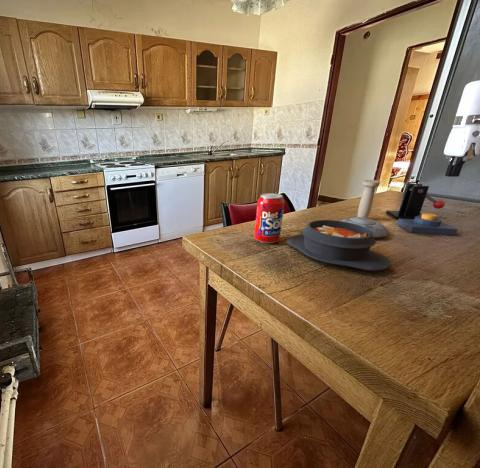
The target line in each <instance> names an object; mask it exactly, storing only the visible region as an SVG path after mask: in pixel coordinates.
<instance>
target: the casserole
mask: <svg viewBox="0 0 480 468" xmlns="http://www.w3.org/2000/svg"><path fill="white" fill-rule="evenodd" d="M301 233H302V234H296V235H292V236H290V237H288V238H287V240H286V244H288V245H289V246H291V247H292V248H294V249H297V250H298V251H299V252H301V253H303V254H304V255H306V256H307V257H309V258H312V259H314V260H317V261H320V262H323V263H325V264H326V263H327V264H331V265H335V266H344V267H350V268H355V269H360V270H363V271H370V272H375V271H383V270H386V269H387V268H389V267H390V266H391V264H392V263H391V260H390V259H389V257H387V256H386V255H383V254H381V253H379V252H376V251H374V250H372V249H371V248H372V247H374V246H375V245H376V243H377V241H376V240H375V239H376V238H373V233H372V231H370V230H369V229H367V228H365V227H362V226H360V225H356V224H352V223H348V222H342V221H341V220H331V219H320V220H312V221H310V222H308V223H307V224H306V226H305V227H304V228H303V229H302V230H301Z"/></svg>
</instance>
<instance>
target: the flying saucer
mask: <svg viewBox="0 0 480 468" xmlns="http://www.w3.org/2000/svg"><path fill="white" fill-rule="evenodd" d="M340 221H342V222H348V223H352V224H356V225H360V226H362V227H365V228H367V229H369V230H370V231H372V233H373V238H374V239H377V238H384V237H386V236H389V235H390V231H389V230H388V228H387V227H386V226H385V225H384V224H382V223H381V222H379V221H377V220H375V219H372V218H369V217H368V218H366V217H357V216H355V217H347V218H343V219H341V220H340Z"/></svg>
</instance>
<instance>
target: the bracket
mask: <svg viewBox="0 0 480 468" xmlns="http://www.w3.org/2000/svg"><path fill="white" fill-rule="evenodd" d="M414 185H418V186H414ZM412 186H413V188H412V191H410V190H409V189H410V188H411V187H412ZM429 188H430V186H429V185H423V184H422V183H406V186H405V190H404V193H403V196H402V200H401V203H400V206H399V209H398V210H386V211H385V214H386V215H388V216H389V217H392V218H393V219H395V220H397V221H398V220H399V219H415V217H416V216H422V214H423V213H422V212H421V211H422V209H423V206H424V203H425V200H426V198H425V197H426V194H427V195H428V191H429Z"/></svg>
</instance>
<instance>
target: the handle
mask: <svg viewBox="0 0 480 468" xmlns="http://www.w3.org/2000/svg"><path fill="white" fill-rule="evenodd" d="M380 184H381V181H380V180H378V179H377V180H375V179H364V180H362V186H363V187H364V188H363V192H362V195H361V197H360V202H359V205H358V209H357V215H356V217H366V218H369V215H370V213H371V210H372V207H373V202H374V198H375V192H376V188H378V187H380Z"/></svg>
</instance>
